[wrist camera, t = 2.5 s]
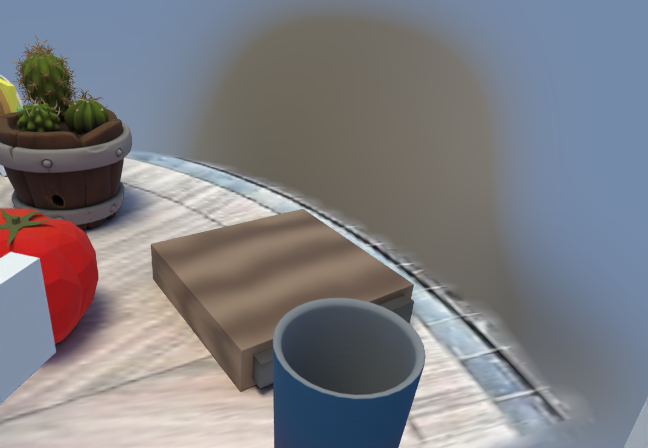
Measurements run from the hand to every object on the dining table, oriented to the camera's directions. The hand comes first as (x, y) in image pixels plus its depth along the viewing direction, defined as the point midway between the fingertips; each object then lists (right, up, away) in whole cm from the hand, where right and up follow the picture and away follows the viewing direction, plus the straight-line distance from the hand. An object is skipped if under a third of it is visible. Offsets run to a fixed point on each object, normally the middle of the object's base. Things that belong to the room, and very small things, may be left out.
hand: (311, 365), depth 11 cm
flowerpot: (-30, +4, +52) cm, 60 cm away
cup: (0, -16, +19) cm, 24 cm away
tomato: (-24, -6, +34) cm, 42 cm away
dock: (-4, -4, +40) cm, 41 cm away
